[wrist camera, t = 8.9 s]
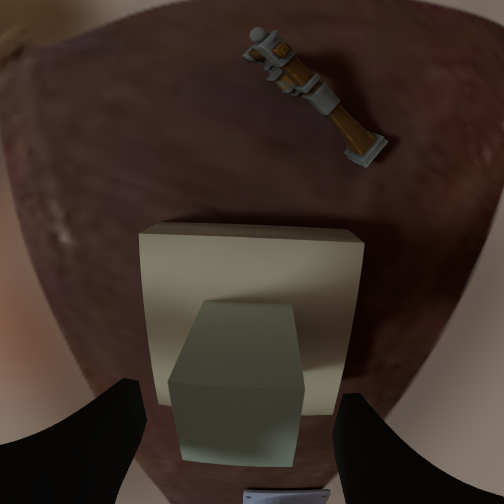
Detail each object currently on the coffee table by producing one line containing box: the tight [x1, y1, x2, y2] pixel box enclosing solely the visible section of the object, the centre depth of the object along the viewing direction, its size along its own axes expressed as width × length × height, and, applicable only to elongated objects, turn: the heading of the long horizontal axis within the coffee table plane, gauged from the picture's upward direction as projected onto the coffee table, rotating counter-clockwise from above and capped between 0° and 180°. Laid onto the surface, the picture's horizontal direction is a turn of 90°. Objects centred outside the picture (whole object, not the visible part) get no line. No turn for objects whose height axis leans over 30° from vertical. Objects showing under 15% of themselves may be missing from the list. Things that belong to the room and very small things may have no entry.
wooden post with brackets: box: [241, 27, 388, 167], centre depth 13 cm, size 2×8×4 cm, turn 50°
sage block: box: [167, 301, 305, 467], centre depth 12 cm, size 4×4×6 cm
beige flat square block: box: [139, 222, 365, 415], centre depth 16 cm, size 10×10×3 cm
